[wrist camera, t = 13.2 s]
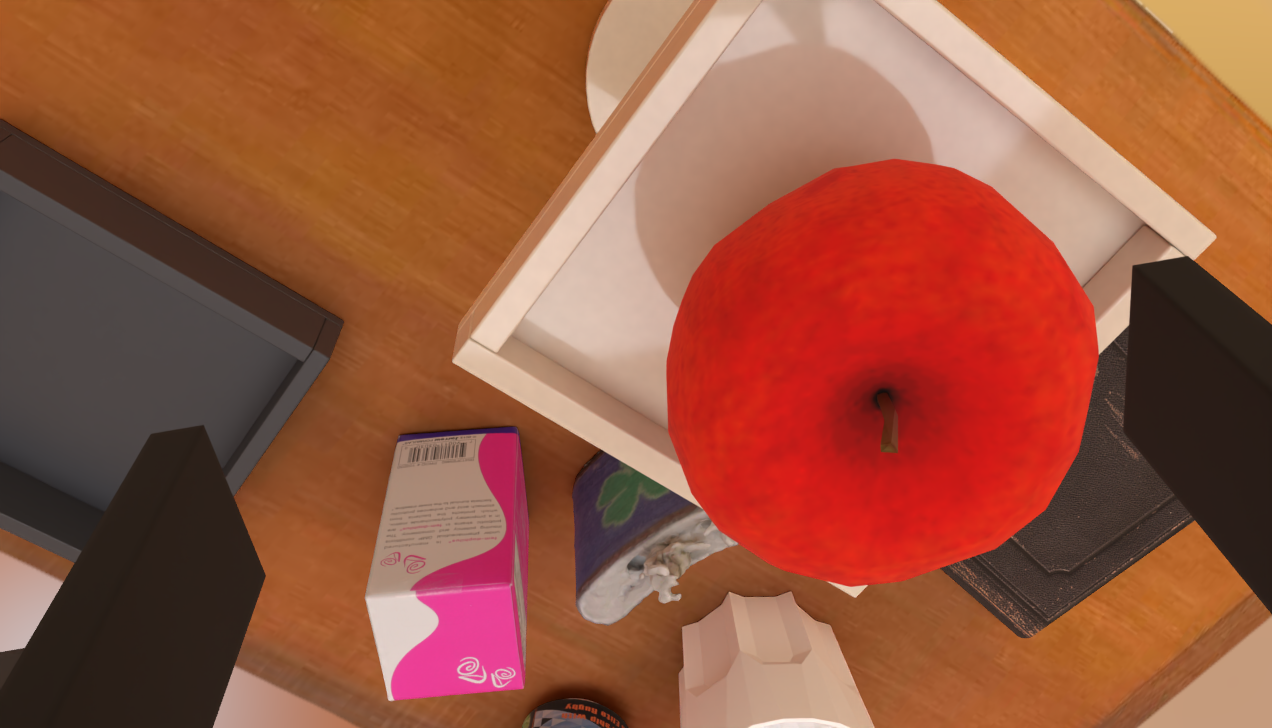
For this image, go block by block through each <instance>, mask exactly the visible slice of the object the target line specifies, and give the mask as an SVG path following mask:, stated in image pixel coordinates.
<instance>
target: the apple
mask: <svg viewBox="0 0 1272 728" xmlns="http://www.w3.org/2000/svg"><path fill="white" fill-rule="evenodd" d="M1098 358H1099V349H1098V339H1097V330H1096V322H1095V313H1094V306H1093V304H1092V303H1091V301H1090V300H1089V298H1088V296H1087V295H1086V293H1085V292H1084V290H1083V288H1082V287H1081V285H1080V284H1079V282H1078V280H1077V279H1076V277H1075V276H1074V274H1073V272H1072V271H1071V269H1070V268H1069V266H1068V264H1067V263H1066V261H1065V260H1064V258H1063V256H1062V255H1061V253H1060V252H1059V250H1058V249H1057V247H1056V246H1055V244H1054V242H1053V241H1052V240H1050V239H1049V238H1048V237H1047V236H1046V235H1045V234H1044V233H1043V232H1042V231H1040V230H1039V229H1038V228H1037V227H1036V226H1035V225H1034V224H1033V223H1032V222H1031V221H1029V220H1028V219H1027V218H1026V217H1025V216H1024V215H1023V214H1022V213H1021V212H1019V211H1018V210H1017V209H1016V208H1015V207H1014V206H1013V205H1012V204H1011V203H1010V202H1008V201H1007V200H1006V199H1005V198H1004V197H1003V196H1002V195H1001V194H1000V193H998V192H997V191H996V190H995V189H994V188H993V187H992V186H990V185H988V184H986V183H984V182H982V181H979V180H977V179H975V178H973V177H971V176H969V175H967V174H965V173H963V172H961V171H959V170H957V169H955V168H952V167H947V166H942V165H937V164H930V163H923V162H916V161H908V160H901V159H889V160H884V161H878V162H872V163H866V164H861V165H855V166H848V167H840V168H834V169H832V170H830V171H828V172H826V173H825V174H823V175H821V176H819V177H817V178H815V179H814V180H812V181H810V182H808V183H806V184H805V185H803V186H801V187H799V188H797V189H795V190H794V191H792V192H790V193H788V194H786V195H784V196H783V197H781V198H779V199H777V200H775V201H773V202H772V203H770V204H768V205H767V206H766V207H764V208H763V209H762V210H760V211H759V212H758V213H756V214H755V215H754V216H752V217H751V218H750V219H748V220H747V221H746V222H744V223H743V224H742V225H740V226H739V227H738V228H736V229H735V230H734V231H732V232H731V233H730V234H728V235H727V236H726V237H724V238H723V239H722V240H720V241H719V242H718V243H716V244H715V245H714V246H713V247H712V249H711V250H710V252H709V253H708V254H707V256H706V257H705V259H704V260H703V261H702V263H701V264H700V265H699V267H698V268H697V270H696V271H695V272H694V274H693V275H692V277H691V280H690V282H689V285H688V287H687V289H686V292H685V294H684V296H683V299H682V302H681V305H680V307H679V310H678V313H677V316H676V319H675V322H674V325H673V330H672V335H671V340H670V345H669V351H668V356H667V361H666V382H667V411H668V433H669V435H670V438H671V441H672V443H673V446H674V449H675V451H676V454H677V456H678V459H679V462H680V464H681V467H682V470H683V472H684V475H685V477H686V480H687V483H688V485H689V488H690V491H691V493H692V495H693V496H694V498H695V499H696V500H697V502H698V503H699V504H700V506H701V507H702V508H703V510H704V511H705V512H706V514H707V515H708V516H709V518H710V519H711V520H712V522H713V523H714V524H715V526H716V527H717V528H718V530H719V531H720V532H722V533H723V534H725V535H726V536H728V537H729V538H731V539H732V540H734V541H735V542H737V543H738V544H740V545H741V546H743V547H744V548H746V549H747V550H749V551H750V552H752V553H753V554H755V555H756V556H758V557H759V558H761V559H762V560H764V561H765V562H767V563H768V564H771V565H773V566H775V567H777V568H780V569H782V570H784V571H788V572H792V573H796V574H800V575H804V576H808V577H812V578H816V579H820V580H824V581H828V582H832V583H836V584H840V585H844V586H849V587H855V586H864V585H873V584H882V583H891V582H900V581H904V580H907V579H910V578H913V577H916V576H919V575H921V574H924V573H927V572H930V571H933V570H936V569H939V568H942V567H945V566H948V565H950V564H953V563H956V562H959V561H962V560H965V559H968V558H971V557H974V556H976V555H979V554H982V553H985V552H988V551H991V550H994V549H996V548H997V547H999V546H1000V545H1001V544H1002V543H1004V542H1005V541H1006V540H1008V539H1009V538H1010V537H1011V536H1013V535H1014V534H1015V533H1016V532H1018V531H1019V530H1020V529H1022V528H1023V527H1024V526H1025V525H1027V524H1028V523H1029V522H1031V521H1032V520H1033V519H1034V518H1036V517H1037V516H1038V515H1039V514H1041V513H1042V512H1043V511H1045V510H1046V508H1047V506H1048V505H1049V503H1050V501H1051V499H1052V498H1053V496H1054V494H1055V493H1056V491H1057V489H1058V487H1059V486H1060V484H1061V482H1062V480H1063V479H1064V477H1065V475H1066V473H1067V472H1068V470H1069V468H1070V466H1071V465H1072V463H1073V461H1074V459H1075V458H1076V456H1077V454H1078V452H1079V448H1080V444H1081V439H1082V435H1083V430H1084V426H1085V421H1086V417H1087V412H1088V408H1089V403H1090V398H1091V393H1092V388H1093V383H1094V378H1095V373H1096V368H1097V363H1098Z"/></svg>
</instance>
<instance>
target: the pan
mask: <svg viewBox="0 0 1272 728" xmlns="http://www.w3.org/2000/svg"><path fill="white" fill-rule="evenodd" d="M343 324H344V321H343V320H341V319H339V318H338V317H336V316H334V315H333V314H331V313H329V312H328V311H326V310H324V309H322V308H321V307H319V306H317V305H316V304H314V303H312V302H311V301H309V300H307V299H305V298H304V297H302V296H300V295H299V294H297V293H295V292H294V291H292V290H290V289H288V288H287V287H285V286H283V285H282V284H280V283H278V282H277V281H275V280H273V279H271V278H270V277H268V276H266V275H265V274H263V273H261V272H260V271H258V270H256V269H254V268H253V267H251V266H249V265H248V264H246V263H244V262H243V261H241V260H239V259H237V258H236V257H234V256H232V255H231V254H229V253H227V252H226V251H224V250H222V249H220V248H219V247H217V246H215V245H214V244H212V243H210V242H209V241H207V240H205V239H203V238H202V237H200V236H198V235H197V234H195V233H193V232H192V231H190V230H188V229H186V228H185V227H183V226H181V225H180V224H178V223H176V222H175V221H173V220H171V219H169V218H168V217H166V216H164V215H163V214H161V213H159V212H158V211H156V210H154V209H152V208H151V207H149V206H147V205H146V204H144V203H142V202H141V201H139V200H137V199H135V198H134V197H132V196H130V195H129V194H127V193H125V192H123V191H122V190H120V189H118V188H117V187H115V186H113V185H112V184H110V183H108V182H106V181H105V180H103V179H101V178H100V177H98V176H96V175H95V174H93V173H91V172H89V171H88V170H86V169H84V168H83V167H81V166H79V165H78V164H76V163H74V162H72V161H71V160H69V159H67V158H66V157H64V156H62V155H61V154H59V153H57V152H55V151H54V150H52V149H50V148H49V147H47V146H45V145H44V144H42V143H40V142H38V141H37V140H35V139H33V138H32V137H30V136H28V135H27V134H25V133H23V132H21V131H20V130H18V129H16V128H15V127H13V126H11V125H10V124H8V123H6V122H4V121H3V120H1V119H0V528H2V529H4V530H6V531H8V532H10V533H12V534H14V535H16V536H19V537H21V538H23V539H25V540H27V541H29V542H31V543H34V544H36V545H38V546H40V547H42V548H44V549H46V550H48V551H51V552H53V553H55V554H57V555H59V556H61V557H63V558H66V559H68V560H70V561H72V562H74V563H75V562H76V560H77V559H78V557H79V555H80V553H81V552H82V550H83V548H84V547H85V545H86V543H87V542H88V540H89V538H90V536H91V535H92V533H93V531H94V530H95V528H96V526H97V525H98V523H99V521H100V519H101V518H102V516H103V514H104V513H105V511H106V509H107V507H108V506H109V504H110V502H111V501H112V499H113V497H114V496H115V494H116V492H117V490H118V489H119V487H120V485H121V484H122V482H123V480H124V479H125V477H126V475H127V473H128V472H129V470H130V468H131V467H132V465H133V463H134V462H135V460H136V458H137V456H138V455H139V453H140V451H141V450H142V448H143V446H144V445H145V443H146V441H147V439H148V438H149V436H150V434H153V433H159V432H165V431H171V430H176V429H182V428H188V427H194V426H200V425H204V427H205V429H206V432H207V434H208V436H209V439H210V441H211V444H212V446H213V449H214V451H215V453H216V456H217V458H218V461H219V463H220V466H221V468H222V470H223V473H224V475H225V478H226V480H227V483H228V485H229V487H230V490H231V492H232V495H233V497H234V496H235V494H236V493H237V491H238V490H239V489H240V487H241V486H242V484H243V483H244V481H245V480H246V479H247V477H248V476H249V474H250V473H251V471H252V470H253V469H254V467H255V466H256V464H257V463H258V461H259V460H260V459H261V457H262V456H263V454H264V453H265V451H266V450H267V449H268V447H269V446H270V444H271V443H272V441H273V440H274V439H275V437H276V436H277V434H278V433H279V431H280V430H281V429H282V427H283V426H284V424H285V423H286V421H287V420H288V419H289V417H290V416H291V414H292V413H293V411H294V410H295V409H296V407H297V406H298V404H299V403H300V401H301V400H302V398H303V397H304V396H305V394H306V393H307V391H308V390H309V388H310V387H311V386H312V384H313V383H314V381H315V380H316V378H317V377H318V376H319V374H320V373H321V371H322V370H323V368H324V367H325V366H326V364H327V363H328V361H329V360H330V358H331V355H332V352H333V350H334V347H335V344H336V342H337V339H338V336H339V334H340V331H341V328H342V326H343Z"/></svg>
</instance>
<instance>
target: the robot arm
mask: <svg viewBox="0 0 1272 728" xmlns="http://www.w3.org/2000/svg"><path fill="white" fill-rule="evenodd" d="M1123 432H1124V434H1125V435H1126V436H1127V437H1128V438H1129V440H1130V441H1131V442H1132V443H1133V445H1134V446H1135V447H1136V448H1137V449H1138V451H1139V452H1140V453H1141V454H1142V456H1143V457H1144V458H1145V459H1146V461H1147V462H1148V463H1149V464H1150V465H1151V467H1152V468H1153V469H1154V470H1155V472H1156V473H1157V474H1158V475H1159V476H1160V478H1161V479H1162V480H1163V481H1164V483H1165V484H1166V485H1167V486H1168V487H1169V489H1170V490H1171V491H1172V492H1173V494H1174V495H1175V496H1176V497H1177V499H1178V500H1179V501H1180V502H1181V503H1182V505H1183V506H1184V507H1185V508H1186V510H1187V511H1188V512H1189V513H1190V514H1191V516H1192V517H1193V518H1194V519H1195V521H1196V522H1197V523H1198V524H1199V525H1200V527H1201V528H1202V529H1203V530H1204V532H1205V533H1206V534H1207V535H1208V537H1209V538H1210V539H1211V540H1212V541H1213V543H1214V544H1215V545H1216V546H1217V548H1218V549H1219V550H1220V551H1221V552H1222V554H1223V555H1224V556H1225V557H1226V559H1227V560H1228V561H1229V562H1230V563H1231V565H1232V566H1233V567H1234V568H1235V570H1236V571H1237V572H1238V573H1239V575H1240V576H1241V577H1242V578H1243V579H1244V581H1245V582H1246V583H1247V584H1248V586H1249V587H1250V588H1251V589H1252V590H1253V592H1254V593H1255V594H1256V595H1257V597H1258V598H1259V599H1260V600H1261V601H1262V603H1263V604H1264V605H1265V606H1266V608H1267V609H1268V610H1269V611H1270V613H1271V614H1272V325H1271V324H1270V323H1269V322H1268V321H1267V320H1265V319H1264V318H1263V317H1262V316H1260V315H1259V314H1258V313H1257V312H1256V311H1254V310H1253V309H1252V308H1251V307H1249V306H1248V305H1247V304H1246V303H1245V302H1243V301H1242V300H1241V299H1240V298H1239V297H1237V296H1236V295H1235V294H1234V293H1232V292H1231V291H1230V290H1229V289H1228V288H1226V287H1225V286H1224V285H1223V284H1221V283H1220V282H1219V281H1218V280H1217V279H1215V278H1214V277H1213V276H1212V275H1210V274H1209V273H1208V272H1207V271H1206V270H1204V269H1203V268H1202V267H1201V266H1200V265H1198V264H1197V263H1196V262H1195V261H1193V260H1192V259H1191V258H1190V257H1189V256H1184V257H1178V258H1173V259H1167V260H1161V261H1155V262H1149V263H1143V264H1138V265H1132V281H1131V299H1130V317H1129V335H1128V352H1127V370H1126V388H1125V406H1124V424H1123ZM265 577H266V575H265V573H264V570H263V568H262V565H261V563H260V560H259V558H258V556H257V553H256V551H255V548H254V546H253V543H252V541H251V539H250V536H249V534H248V531H247V529H246V526H245V524H244V522H243V519H242V517H241V514H240V512H239V509H238V507H237V504H236V502H235V500H234V497H233V495H232V492H231V490H230V487H229V485H228V483H227V480H226V478H225V475H224V473H223V470H222V468H221V466H220V463H219V461H218V458H217V456H216V453H215V451H214V449H213V446H212V444H211V441H210V439H209V436H208V434H207V432H206V429H205V427H204V425H200V426H194V427H188V428H182V429H176V430H171V431H165V432H159V433H153V434H150V436H149V438H148V439H147V441H146V443H145V445H144V446H143V448H142V450H141V451H140V453H139V455H138V456H137V458H136V460H135V462H134V463H133V465H132V467H131V468H130V470H129V472H128V473H127V475H126V477H125V479H124V480H123V482H122V484H121V485H120V487H119V489H118V490H117V492H116V494H115V496H114V497H113V499H112V501H111V502H110V504H109V506H108V507H107V509H106V511H105V513H104V514H103V516H102V518H101V519H100V521H99V523H98V525H97V526H96V528H95V530H94V531H93V533H92V535H91V536H90V538H89V540H88V542H87V543H86V545H85V547H84V548H83V550H82V552H81V553H80V555H79V557H78V559H77V560H76V562H75V564H74V565H73V567H72V569H71V570H70V572H69V574H68V576H67V577H66V579H65V581H64V582H63V584H62V586H61V588H60V589H59V591H58V593H57V594H56V596H55V598H54V600H53V601H52V603H51V605H50V606H49V608H48V610H47V611H46V613H45V615H44V617H43V618H42V620H41V622H40V623H39V625H38V627H37V629H36V630H35V632H34V633H33V635H32V637H31V639H30V640H29V642H28V644H27V645H26V647H25V648H23V649H17V650H11V651H5V652H0V728H213V725H214V722H215V719H216V717H217V714H218V711H219V707H220V705H221V702H222V699H223V696H224V693H225V691H226V688H227V685H228V682H229V679H230V676H231V674H232V671H233V668H234V665H235V662H236V659H237V657H238V654H239V651H240V648H241V645H242V642H243V639H244V637H245V634H246V631H247V628H248V625H249V622H250V619H251V617H252V614H253V611H254V608H255V605H256V602H257V599H258V597H259V594H260V591H261V588H262V585H263V582H264V579H265Z"/></svg>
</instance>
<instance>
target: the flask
mask: <svg viewBox="0 0 1272 728" xmlns="http://www.w3.org/2000/svg"><path fill="white" fill-rule="evenodd" d="M572 498H573V507H574V523H575V544H574V547H575V562H576V607H577V609H578V611H579V612H580V614H581V615H582V617H583V618H584V619H586V620H588V621H591V622H593V623H597V624H604V625H610V624H613V623H615V622H617V621H619V620H620V619H622V618H623V617H625V616H626V615H627V614H628V613H629V612H630V611H631V610H632V609H633V608H634V607H636V606H637V605H638V604H640V603H641V601H642V600H643V599H644V598H645V597H647V596H648V595H649V594H650V593H652V592H653V591H654V590H656V591H658V592H659V598H658V600H659V602H662V603H667V602H670V601H672V600H675V601H679V599H680V598H681V594H673V593H672V592H671V587H672V586H676V585H678V584H679V583H678V582H677V581H676V579H679V578H680V577H681V576H682V575H683V574H684V573H685V571H686V569H688V568H689V566H691V565H693V564H695V563H696V562H698V561H700V560H703V559H704V558H705V557H707V556H709V555H711V554H713V553H715V552H718V551H722V550H724V549H725V548H726V547H732V546H737V545H738V543H737V542H735V541H734V540H732V539H731V538H729V537H728V536H726V535H725V534H723V533H722V532H720V531H719V530H718V528H717V527H716V526H715V524H714V523H713V522H712V520H711V519H710V518H709V516H708V515H707V514H706V512H705V511H704V510H703V509H702V508H700V507H699V506H697V505H695V504H693V503H692V502H690V501H688V500H687V499H685V498H683V497H682V496H680V495H678V494H676V493H675V492H673V491H671V490H670V489H668V488H666V487H664V486H663V485H661V484H659V483H658V482H656V481H654V480H652V479H651V478H649V477H647V476H646V475H644V474H642V473H641V472H639V471H637V470H635V469H634V468H632V467H630V466H629V465H627V464H625V463H623V462H622V461H620V460H618V459H617V458H615V457H613V456H611V455H610V454H608V453H606V452H605V451H603V450H601V451H600V452H598V453H597V455H595V456H594V457H593V458H592V460H590V461H588V462H587V464H586V465H584V468H582V470H581V472H580V473H579V474H578V475H577V478H576V481H575V483H574V487H573V494H572Z"/></svg>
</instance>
